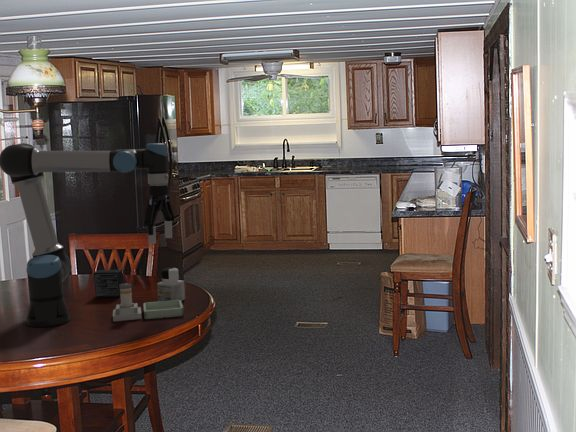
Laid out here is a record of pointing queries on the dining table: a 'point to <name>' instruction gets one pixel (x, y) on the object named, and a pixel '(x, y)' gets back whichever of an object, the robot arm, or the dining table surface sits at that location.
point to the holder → (127, 313)
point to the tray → (163, 309)
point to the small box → (108, 283)
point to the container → (170, 286)
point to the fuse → (125, 295)
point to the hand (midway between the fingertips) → (160, 240)
